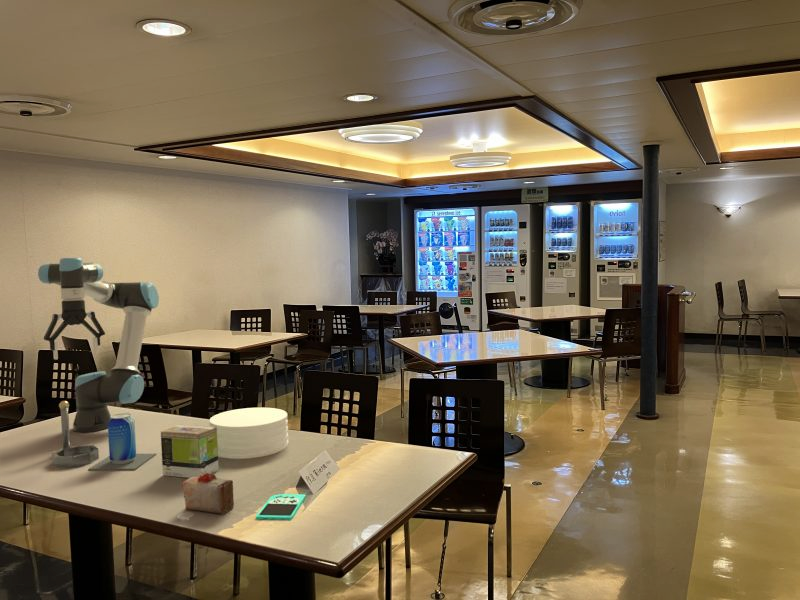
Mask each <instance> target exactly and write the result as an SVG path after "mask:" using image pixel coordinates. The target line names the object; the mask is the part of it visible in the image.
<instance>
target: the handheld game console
mask: <svg viewBox="0 0 800 600" xmlns="http://www.w3.org/2000/svg"><path fill="white" fill-rule="evenodd" d="M306 498H307V494H305V493H304V494H301V493H299V494H296V493H294V494H293V493H281V494H278V493H277V494H275V495H271V496H270V498H268V499H267V501H266V502H265V504H264V505H263V506H262V507H261V509H260V511H259V512H258V513H257V514H256V515H255V519H256V520H275V521H276V520H285V521H287V520H288V521H289V520H290V521H291V520H293V518H294V516H295V515H296V514H297V511H298V510H299V509H300V507H301V505H303V503H304V501H305V500H306Z"/></svg>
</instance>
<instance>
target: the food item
mask: <svg viewBox="0 0 800 600" xmlns="http://www.w3.org/2000/svg"><path fill="white" fill-rule="evenodd" d="M182 489H183V498H184V504H185V510H186V511H187V510H189V511H201V512H206V513H211V514H212V513H213V514H220V515H223V514H225V513H227V512H229V511H230V510H232V509H233V508H234V506H235V503H234V500H235V499H234V482H233V479H225V478H217V477H216V474H214V473H213V472H212V473H211V474H208V473H206V474H203V476H200V477H191V478H187V479H185V481H183V482H182Z"/></svg>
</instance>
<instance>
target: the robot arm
mask: <svg viewBox="0 0 800 600" xmlns="http://www.w3.org/2000/svg"><path fill="white" fill-rule="evenodd" d="M37 270H38V272H37V277H38V279H39V281H40V282H41V283H43V284H48V285H50V284H55V285H58V286H60V294H61V296H60V298H61V299H62V301H61V314H57V313H52V317H51V318H52V319H51V321H50V323H49V326H48V327H47V330H46V331H45V334H44V336H43V340H44V341H48V342H49V349H50V351H52V353H53V360H55V361H56V360H58V359H59V353H58V341H57V338H58V337H59V336H60V335H61V333H62V332H63V331H64V330H65V329H66V328H67V327H68V326H75V325H77V326H78V325H82V326H84V327H85V328H86V329H87V330H88V331H89V332H90V333H91V334H92V335H93V336H92V345H93V346H92V348H93V355H95V356H98V355H99V348H98V347H100V346H101V337H102V336H105V335H106V332H105V330H104V329H103V327H102V326H101V324H100V322H99V321H98V319H97V318H96V312H95V311H88V312H86V304H85V302H86V301H85V300H84V298H85V296H87V297H90V298H92V300H93V301H95V302H96V303H99V304H102V305H104V306H107V307H111V308H115V309H120V310H121V309H122V311H123V312H124V314H125V315H124V321H123V325H122V326H123V327H122V331H121V337H120V340H119V341H120V342H119V348H118V352H117V356H116V361H115V366H114V367H113V368H111V369H110V372H109V375H107V372H106V371H104V370H103V371H102V370H101V371H95V372H89V373H85V374H81V375H77V377H76V378H75V381H74V383H75V386H74V389H75V403H76V414H75V417H74V419H73V423H72V430H73V431H74V432H77V433H89V432H98V431H102V430H106V429H107V430H108V422H109V420H110V419H111V418H110V417H111V416H112V414H111V413H110V410H109V407H108V404H133V403H135V402H137V401H138V400H139V399H140V398H141V396H142V395H143V392H144V389H145V383H144V382H145V381H144V378H143V376H141V371H140V370H139V368H138V367H139V360H140V356H141V355H140V354H141V351H142V344H143V339H144V333H145V329H146V323H147V322H146V321H147V317H149V316H150V315H151V314H152V309H153V310H154V309H156V308H157V307H158V306H159V304H160V303H159V301H160V299H159V298H160V297H159V292H158V289H157V287H156V286H155V284H154V283H152V282H146V281H141V282H139V281H138V282H137V281H136V282H108V281H105V280H104V281H103V280H102V278H103V277H104V269H103V267H102V266H101V265H100V264H98V263H96V262H83V259H82V258H81V257H62V258H60V259H59V263H51V262H50V263H45V264H42V265H40V266H39V268H38V269H37ZM101 280H102V281H101ZM87 317H88V318H90V320H91V321H92V324H93V325H94V327H95V328H96V330H95V328H94V327H92V326H91V325H90V323H88V322H87V321H86V320H85V319H86V318H87ZM60 319H62V320H63V321H62V323H61V324H60V325H59V327H57V329H56V330H55V331H54V329H55V328H56V326H57V323H58V321H59V320H60ZM53 331H54V333H53ZM52 333H53V334H52Z"/></svg>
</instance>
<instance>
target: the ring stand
mask: <svg viewBox="0 0 800 600" xmlns="http://www.w3.org/2000/svg"><path fill="white" fill-rule="evenodd" d="M58 407H59V410H60V421H61V422H60V423H61V435H62V437H61V439H62V447H61V448H59V449H57V450H55V451H53V452H51V460H52V465H54V466H55V468H57V469H58V468H76V467H80V466H85V465H89V464H92V463H93V462H95V461H97V460H99V459H100V454H99V448H98V447H96V446H95V445H94V444H92V445H75V446H71V437H70V434H71V433H70V422H69V420H70V418H69V416H70V415H69V407H70V403H69V401H67V400H61V401H60V403H59V404H58Z"/></svg>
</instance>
